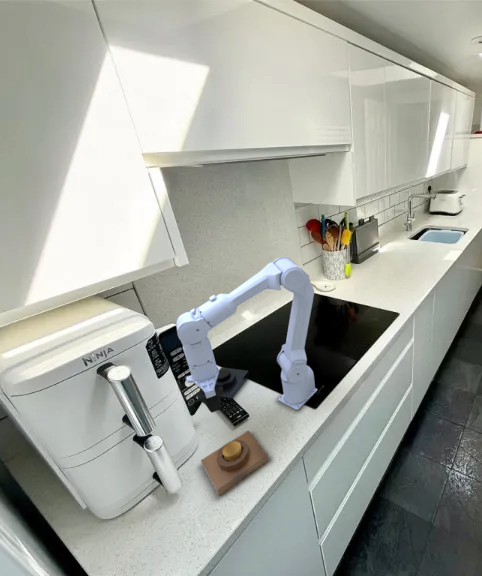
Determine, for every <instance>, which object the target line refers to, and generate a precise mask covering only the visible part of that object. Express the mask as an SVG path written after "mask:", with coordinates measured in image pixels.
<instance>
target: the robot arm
mask: <svg viewBox="0 0 482 576" xmlns="http://www.w3.org/2000/svg"><path fill="white" fill-rule="evenodd" d="M282 288H284V289H285V290H286V291H288V292H291V293H292V294H293V296H292V303H291V309H290V313H289V321H288V327H287V333H286V334H287V335H286V341H285V343H284V344H282V345H281V349H280V351H279V353H278V355H277V357H276V362H277V364H278V365H279V366H280V368H281V372H280V380H281V386H282V392H283V394H282V395H280V396H279V397H278V399H277V400H278V402H280V403H283V404H284V405H286V406H288V407H290V408H292V409H294V410H296V411H298V410H300V409H301V408H302V407H303V406H304V405H305V404H306V403H307V402H308V401H309V400H310V399H311V398H312V397H313V396H314V395H315V393H317V392H318V388H316V384H315V375H314V371H313V369H312V368H311V367H310V365H307V361H308V358H307V354H306V349H305V346H306V342H307V341H306V340H307V336H308V330H309V329H308V328H309V324H310V318H311V312H312V309H313V308H312V307H313V302H314V296H315V289H314V286H313V284H312V282H311V280H310V275H309V274H308V273H307V272H306V271H305V270H304V269H303V268H301V267H300V266H299V265H297V263H296V262H295V261H293V260H292V259H291V258H289V257H287V256H280V257H278V258H276V259H275V260H274V261H271V262H269V263H267V264H266V265H265V266H264V267H263V268H262V269H261V270H260V271H259V272H258V273H256V274H254V275H252V277H250V278H249V279H247V280H246V281H244V282H243V283H242V284H241V285H239V286H238V287H237V288H235V289H234V290H232V291H231V292H229V293H219V294H217V295H215V294H213V295H211V296H210V297H208V298H209V300H208V301H206V302H205V303H203V304H202V305H200V306H198V307H196V308H192V309H190V311H186V312H184V313H182V314H180V315H179V316H178V317H177V319H176V321H175V322H176V324H175V326H176V333H177V337H178V339H179V341H180V342H181V345H182V350H183V353H184V356H185V360H186V363H187V365H188V369H189V372H190V375H187V377H186V382H187V383H188V384H192V383H193V384H195V385H196V386H197V387H199V389H200V390H201V389H202V390H203V391H201V392H199V391H198V392H196V398H197V400H198V401H199V402H201V403H202V404H204V405H205V407H206V409H208V411H209V412H210V413H211V414H212V413H215V412H217V411H220V410H221V401H220V399H221V395H222V393H223V387H222V386H219V387H216V388H215V384H216V381H217V377H218V374H219V370H220V368H219V367H218V366H217V362H216V359H215V355H214V351H213V348H212V343H211V340H210V338H209V337H208V334H209V332H210V331H211V330H212V329H214V328H215V327H216V326H218V325H219V324H221V323H222V322H225V320H227V319H229V318H231V316H233V315H234V314H236V312H237V308H238V306H239V305H241V304H243V303H245V302H246V301H248V300H249V299H252V298H253V297H255V296H257V295H259V294H261V293H262V292H263V291H265V290H273V291H282Z"/></svg>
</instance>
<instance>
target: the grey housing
mask: <svg viewBox="0 0 482 576" xmlns="http://www.w3.org/2000/svg"><path fill="white" fill-rule="evenodd" d="M224 369H226V370H228V371H229V373H230V378H229V379H228V380H226V381H223V382H218V381H216V384H215V388H216V387H219V386H222V387H223V393H222V395H221V398H225V399H229V398H230V399H229V400H224V399H220V402H222V403H230V402H231V401H232V399H234V397H235V395H237V393H238V392H239V390H240V389H241V388H242V387H243V385H244V384H245V383H246V381H247V380H248V378H249V377H250V372H249V370H245V369H236V368H231V367H230V368H229V367H220V368H219V371H220V370H224Z"/></svg>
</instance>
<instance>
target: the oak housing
mask: <svg viewBox="0 0 482 576" xmlns="http://www.w3.org/2000/svg"><path fill="white" fill-rule="evenodd" d="M233 441H236V442H239V443H240V445H241V449H242V453H241V455H240V456H239V457H238V458H237V459H236V460H234V461H226V460H225V459H224V455H223V448H224V447H225V446H226V445H227V444H228V443H230V442H233ZM268 462H269V457H268V454H267V453H266V452H265V450H264V449H263V448H262V446H261V445H260V443H259V442H258V441H257V439H256V438H255V437H254V436H253V434H252V432H250V430H247V431H245V432H243V433H241V434H240V435H239V436H237V437H236V438H234V439H232V440H231V441H229V442H227V443H226V444H224V445H222V446H221V447H220V448H219V449H218V448H217V450H215V451H213V452H212V453H210V454H209V455H206V456H205V457H204V458H202V459H201V460H200V463H201V465H202V468H203V469H204V472H205V473H206V475H207V477H208V479H209V480H210V482H211V485H212V486H213V488H214V490H215V492H216V494H217V495H218V497H220V496H222V495H223V494H224V493H226V492H227V491H228V490H230V489H231V488H233V487H234V486H235V485H237V484H238V483H239V482H241V481H242V480H244V479H246V477H248V476H249V475H250V474H252V473H253V472H255V471H256V470H257V469H259V468H260V467H262V466H263V465H265V464H266V463H268Z"/></svg>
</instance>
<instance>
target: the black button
mask: <svg viewBox="0 0 482 576" xmlns="http://www.w3.org/2000/svg"><path fill="white" fill-rule="evenodd" d="M219 370H220V369H219ZM229 378H230V373H229V371H228V370H226V369H224V370H220V371H219V374H218V377H217V381H218V382H223V381H226V380H228V379H229Z"/></svg>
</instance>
